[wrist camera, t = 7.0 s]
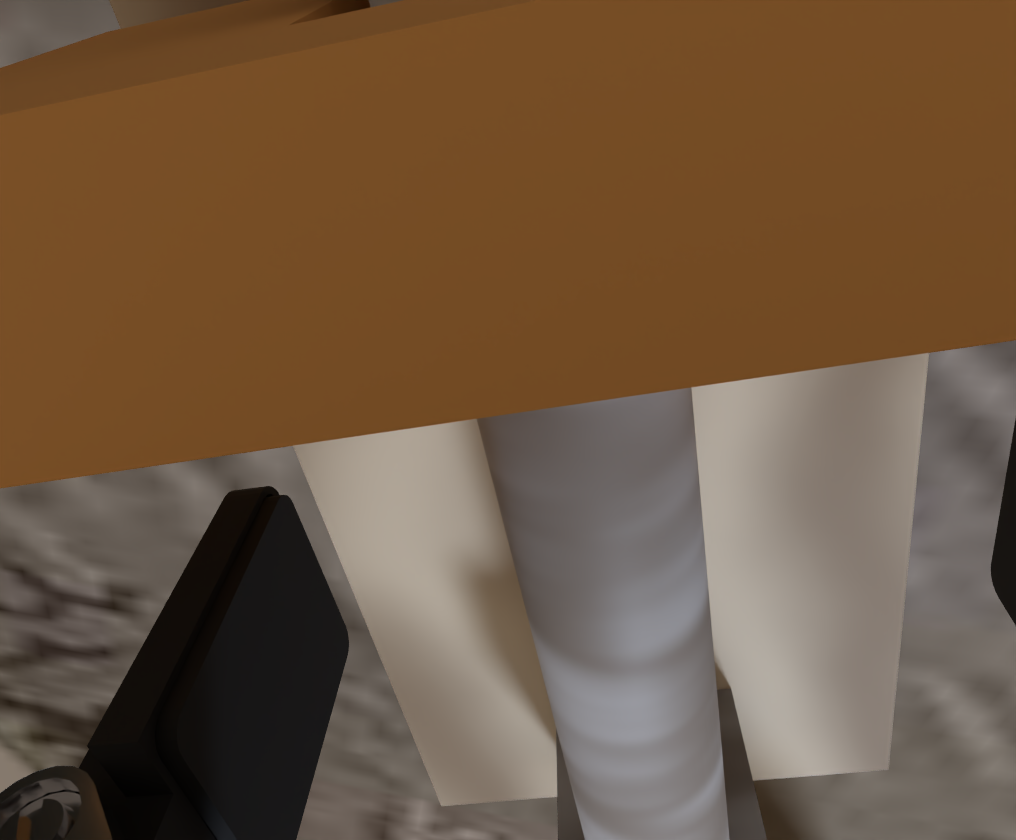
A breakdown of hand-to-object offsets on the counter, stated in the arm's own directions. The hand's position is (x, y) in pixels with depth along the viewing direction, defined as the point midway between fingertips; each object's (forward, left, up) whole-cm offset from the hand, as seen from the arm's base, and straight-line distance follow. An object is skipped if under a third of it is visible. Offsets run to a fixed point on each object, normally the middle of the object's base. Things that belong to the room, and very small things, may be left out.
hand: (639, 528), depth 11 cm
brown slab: (+1, -5, -5) cm, 8 cm away
